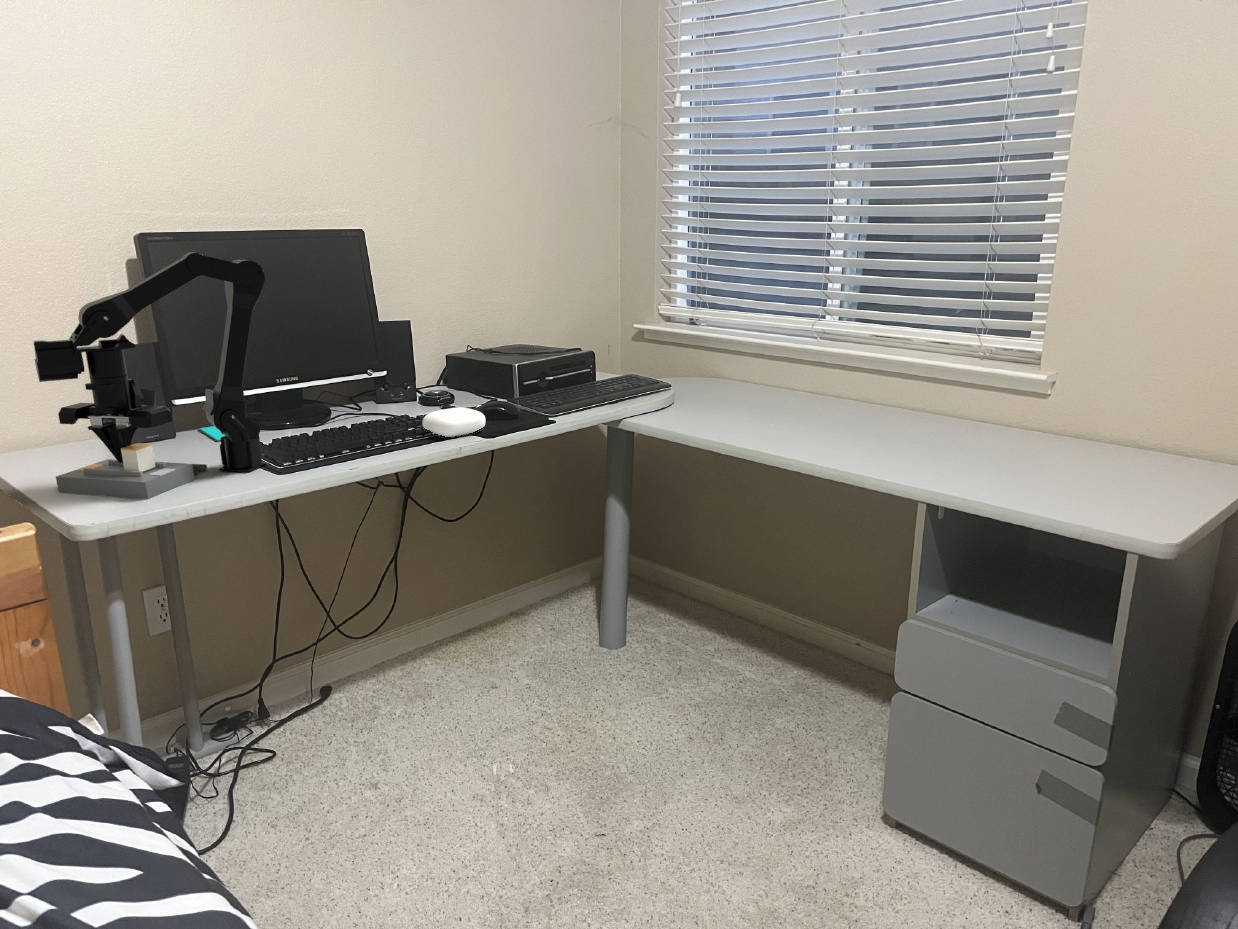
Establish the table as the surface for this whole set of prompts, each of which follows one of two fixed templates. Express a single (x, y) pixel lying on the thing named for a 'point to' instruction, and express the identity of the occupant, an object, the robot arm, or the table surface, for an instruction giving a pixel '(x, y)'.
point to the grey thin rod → (201, 467)
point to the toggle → (138, 457)
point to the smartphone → (212, 433)
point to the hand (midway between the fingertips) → (122, 462)
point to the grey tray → (124, 479)
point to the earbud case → (454, 421)
